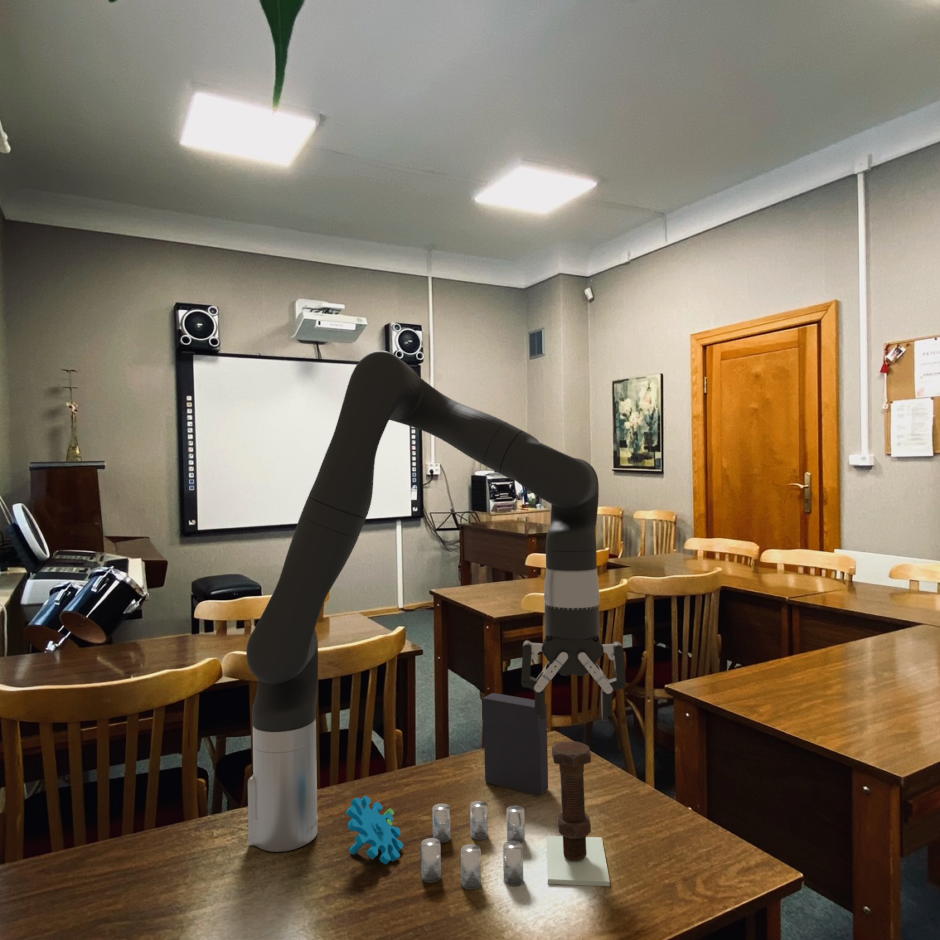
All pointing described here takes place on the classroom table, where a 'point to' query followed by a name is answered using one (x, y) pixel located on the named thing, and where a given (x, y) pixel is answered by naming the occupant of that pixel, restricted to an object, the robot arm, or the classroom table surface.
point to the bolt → (572, 797)
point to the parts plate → (577, 864)
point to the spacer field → (472, 851)
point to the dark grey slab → (515, 744)
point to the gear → (374, 830)
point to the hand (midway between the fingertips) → (573, 718)
